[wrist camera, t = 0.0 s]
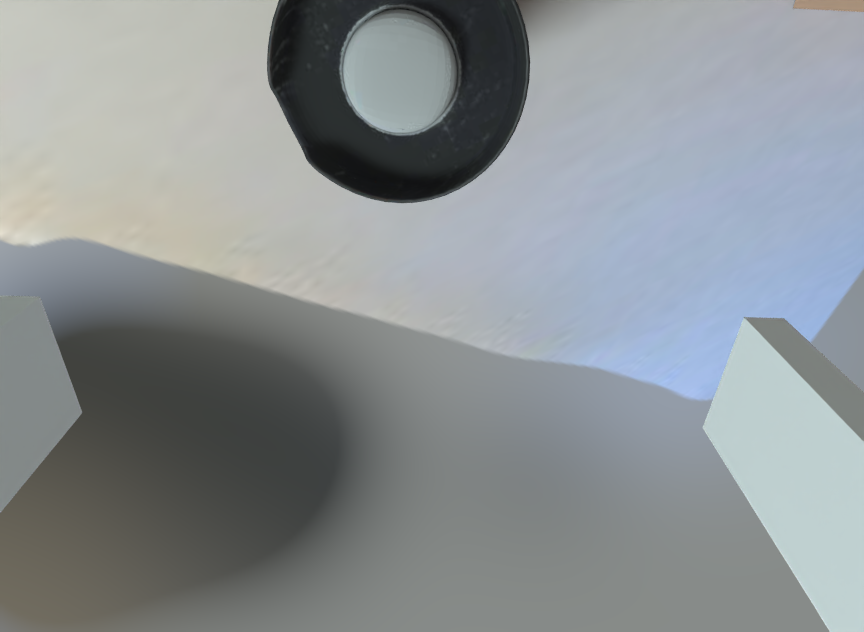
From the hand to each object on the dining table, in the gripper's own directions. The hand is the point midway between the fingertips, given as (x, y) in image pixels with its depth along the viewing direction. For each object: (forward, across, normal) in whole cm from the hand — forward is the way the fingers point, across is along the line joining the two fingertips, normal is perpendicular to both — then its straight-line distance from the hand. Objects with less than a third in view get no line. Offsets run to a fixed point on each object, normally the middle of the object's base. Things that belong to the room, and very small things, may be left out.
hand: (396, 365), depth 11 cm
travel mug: (+28, 0, +4) cm, 29 cm away
